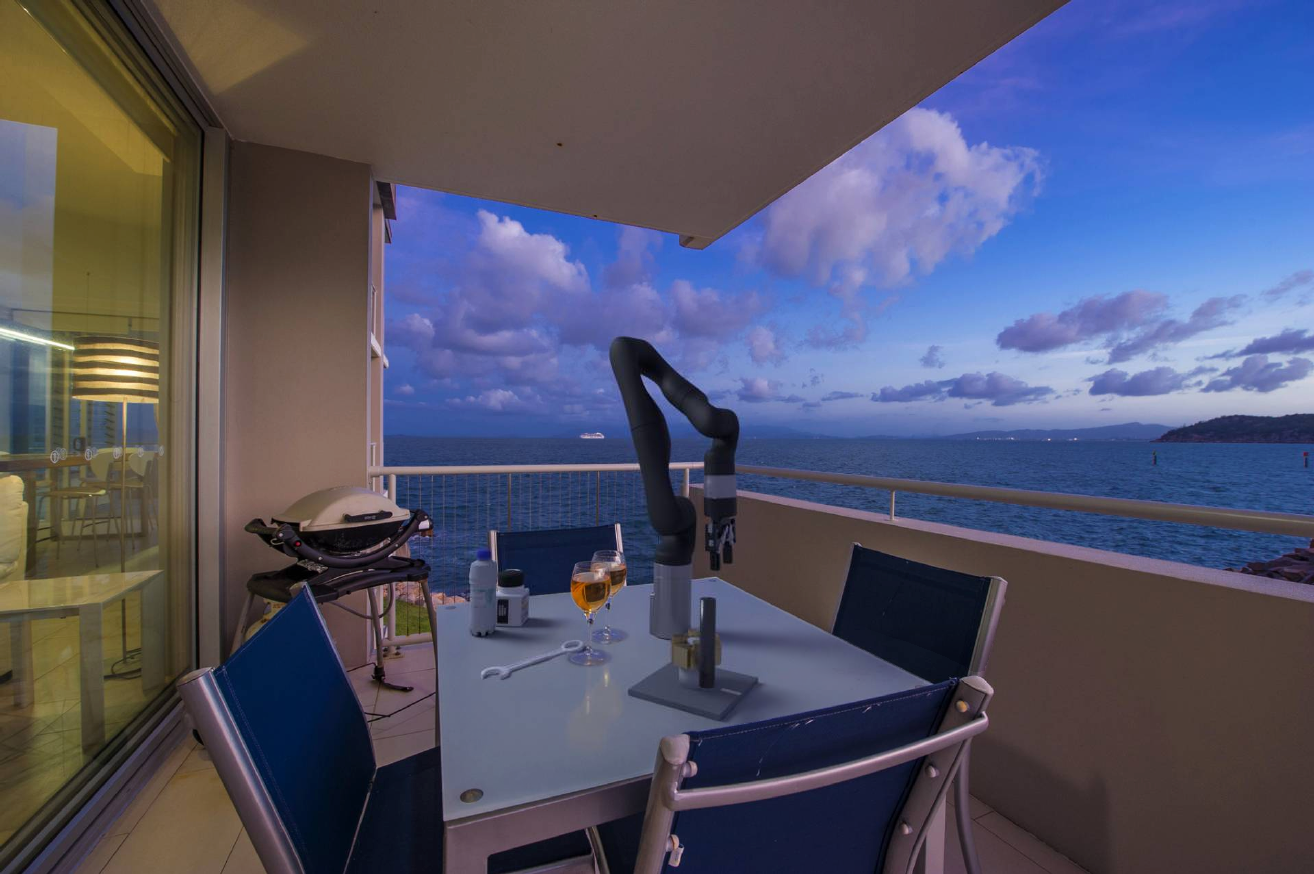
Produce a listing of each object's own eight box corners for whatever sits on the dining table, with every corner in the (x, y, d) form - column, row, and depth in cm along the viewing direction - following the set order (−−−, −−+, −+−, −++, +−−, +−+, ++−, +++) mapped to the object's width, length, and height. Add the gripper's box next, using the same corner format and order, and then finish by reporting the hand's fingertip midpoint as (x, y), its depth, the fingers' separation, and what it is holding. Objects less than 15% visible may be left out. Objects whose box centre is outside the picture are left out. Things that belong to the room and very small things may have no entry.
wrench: (491, 685, 104) (491, 674, 104) (475, 677, 108) (475, 667, 108) (588, 651, 124) (589, 643, 124) (572, 646, 127) (573, 637, 127)
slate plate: (628, 694, 100) (629, 644, 100) (676, 663, 116) (676, 619, 116) (719, 720, 91) (719, 665, 91) (758, 682, 106) (758, 635, 107)
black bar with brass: (668, 651, 108) (669, 575, 108) (715, 650, 108) (716, 575, 109) (679, 693, 89) (681, 601, 89) (736, 692, 90) (737, 601, 90)
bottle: (461, 635, 131) (463, 550, 131) (480, 627, 137) (482, 545, 137) (484, 639, 128) (486, 552, 129) (502, 630, 134) (504, 548, 135)
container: (521, 627, 138) (522, 574, 138) (490, 626, 138) (491, 573, 138) (528, 617, 145) (530, 567, 146) (499, 617, 146) (500, 567, 146)
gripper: (715, 493, 134) (716, 560, 133) (693, 497, 121) (694, 571, 121) (745, 493, 131) (747, 562, 130) (725, 497, 118) (727, 574, 117)
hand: (721, 566), depth 125 cm, fingers open, 8 cm apart
